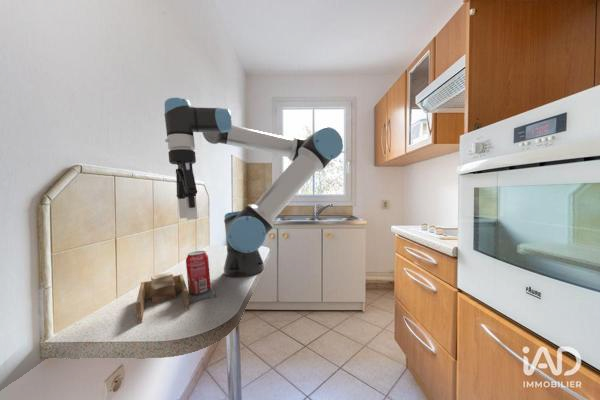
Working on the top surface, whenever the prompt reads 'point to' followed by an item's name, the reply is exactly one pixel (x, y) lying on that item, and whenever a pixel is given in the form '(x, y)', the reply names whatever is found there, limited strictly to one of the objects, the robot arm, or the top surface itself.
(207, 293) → the mat
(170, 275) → the birch offcut
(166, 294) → the walnut offcut
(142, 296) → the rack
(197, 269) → the beverage can
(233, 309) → the top surface
